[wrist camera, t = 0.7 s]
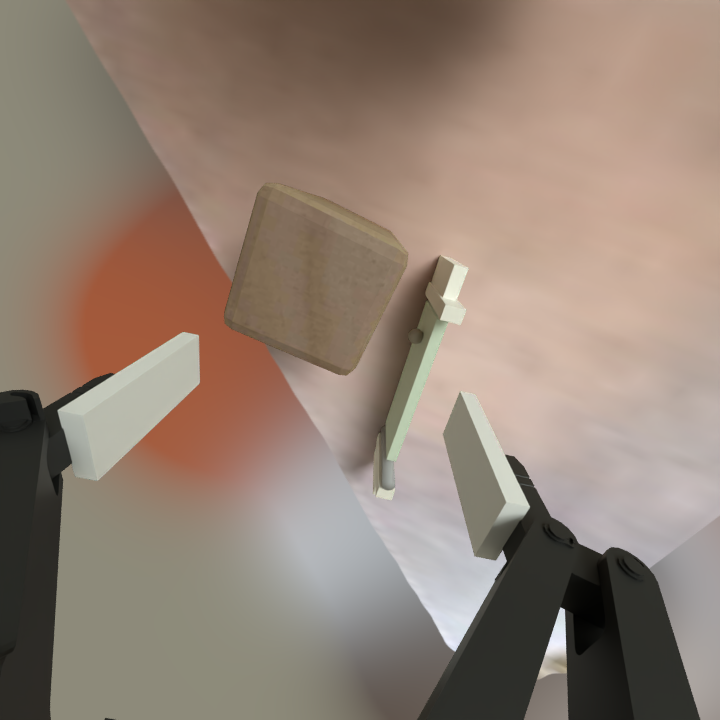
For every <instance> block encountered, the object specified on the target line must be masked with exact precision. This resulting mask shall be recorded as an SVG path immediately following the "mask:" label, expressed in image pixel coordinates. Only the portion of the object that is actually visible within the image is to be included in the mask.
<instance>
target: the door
mask: <svg viewBox="0 0 720 720" xmlns="http://www.w3.org/2000/svg"><path fill="white" fill-rule="evenodd" d="M447 324H448V322H447V321H443V320H440V319H439V317H438V315H437V314H436V312H435V310H434V309H433V307H432V305H431V303H430V302H429V301H427V300H426V303H425V306H424V309H423V312H422V315H421V318H420V321H419V324H418V327H417V329H412V330H411V331H410V332H409V334H408V339H409V341H410V342H411V343H412V345H411V348H410V351H409V354H408V357H407V360H406V363H405V366H404V369H403V372H402V375H401V378H400V381H399V384H398V387H397V390H396V393H395V395H394V398H393V401H392V404H391V407H390V410H389V413H388V416H387V419H386V422H385V423H386V458H387V460H391V461H395V462H396V460H397V457H398V454H399V452H400V449H401V446H402V444H403V441H404V438H405V436H406V433H407V430H408V428H409V425H410V422H411V420H412V417H413V414H414V412H415V409H416V406H417V404H418V401H419V398H420V396H421V393H422V390H423V388H424V385H425V383H426V380H427V377H428V375H429V372H430V369H431V367H432V364H433V361H434V359H435V356H436V353H437V351H438V348H439V345H440V343H441V340H442V337H443V335H444V332H445V329H446V327H447Z"/></svg>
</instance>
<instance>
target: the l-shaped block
mask: <svg viewBox="0 0 720 720" xmlns="http://www.w3.org/2000/svg"><path fill="white" fill-rule="evenodd" d="M468 269H469V268H467V267H466V266H464V265H462V264H461V263H459V262H457V261H455V260H454V259H452V258H449V257H445V256H441V255H440V257H439V260H438V263H437V266H436V269H435V272H434V275H433V278H432V281H431V282H429V283H428V286H427V289H426V292H425V295H426V297H427V298H428V300H429V302H430V303H431V305H432V307H433V309H434V310H435V312H436V314H437V315H438V317H439V319H440V320H443V321H447V322H451V323H455V324H459V325H461V323H462V320H463V318H464V315H465V312H466V309H465V308H464V307H463V305H462V304H461V303H460V302H459V301H458V300H457V298H458V295H459V292H460V290H461V287H462V284H463V282H464V279H465V277H466V274H467V271H468ZM394 492H395V475H394V461H391V460H387V458H386V426H383V427H382V429H381V433H379V434H378V437H377V440H376V449H375V452H374V466H373V494H375V495H376V497H378V498H383V499H387V500H392V497H393V495H394Z"/></svg>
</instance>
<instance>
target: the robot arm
mask: <svg viewBox="0 0 720 720" xmlns="http://www.w3.org/2000/svg"><path fill="white" fill-rule="evenodd" d="M199 369H200V367H199V335H195V334H191V333H186V332H183V333H181V334H179V335H178V336H176V337H174V338H173V339H171V340H169V341H168V342H166V343H165V344H163V345H162V346H160V347H158V348H157V349H155V350H153V351H152V352H150V353H148V354H147V355H145V356H144V357H142V358H141V359H139V360H137V361H136V362H134V363H132V364H131V365H129V366H128V367H126V368H124V369H123V370H122V371H120V372H118V373H116V374H113V373H109V374H106V375H103V376H100V377H97V378H94V379H92V380H91V381H89V382H87V383H86V384H84V385H83V386H82V387H79V388H77V389H76V390H74V391H73V392H72V393H69V394H67V395H65V396H64V397H62V398H60V399H59V400H57V401H55V402H54V403H52V404H50V405H49V406H47V407H46V408H44V409H43V408H42V405H41V401H40V398H39V395H38V394H37V393H35V392H33V391H28V390H11V391H6V392H1V393H0V720H51V717H50V694H51V693H50V692H51V677H52V658H53V643H54V626H55V608H56V591H57V574H58V556H59V540H60V523H61V506H62V489H63V478H62V474H61V472H62V471H63V470H64V469H65V468H67V467H68V466H69V465H70V464H72V468H73V472H74V475H75V477H79V478H85V479H89V480H94V481H98V480H99V479H100V478H101V477H102V476H103V475H104V474H105V473H107V472H108V471H109V470H110V469H111V468H112V467H113V466H114V465H115V464H116V463H117V462H118V461H119V460H120V459H121V458H122V457H123V456H124V455H125V454H126V453H127V452H129V451H130V449H132V448H133V447H134V446H135V445H136V444H137V443H138V442H139V441H140V440H141V439H142V438H143V437H144V436H145V435H146V434H147V433H148V432H149V431H150V430H152V429H153V428H154V427H155V426H156V425H157V424H158V423H159V422H160V421H161V420H162V419H163V418H164V417H165V416H166V415H167V414H168V413H169V412H170V411H171V410H172V409H173V408H174V407H175V406H177V405H178V404H179V403H180V402H181V401H182V400H183V399H184V398H185V397H186V396H187V395H188V394H189V393H190V392H191V391H192V390H193V389H194V388H195V387H196V386H197V385H198V384H199V383H200V370H199ZM443 437H444V440H445V444H446V448H447V452H448V456H449V460H450V463H451V467H452V471H453V475H454V479H455V483H456V487H457V490H458V494H459V498H460V502H461V506H462V510H463V513H464V517H465V521H466V525H467V529H468V533H469V537H470V540H471V544H472V548H473V552H474V556H476V557H481V558H486V559H491V560H497V558H498V556H499V555H500V553H501V552H502V550H503V551H504V554H505V557H506V560H507V562H506V564H505V565H504V567H503V568H502V570H501V571H500V573H499V574H498V576H497V577H496V579H495V582H494V584H493V586H492V588H491V590H490V591H489V593H488V595H487V597H486V598H485V600H484V602H483V604H482V606H481V607H480V609H479V611H478V613H477V614H476V616H475V618H474V620H473V622H472V623H471V625H470V627H469V629H468V630H467V632H466V634H465V636H464V637H463V639H462V641H461V643H460V645H459V646H458V648H457V650H456V652H455V654H454V655H453V657H452V659H451V661H450V662H449V664H448V666H447V668H446V669H445V671H444V673H443V675H442V677H441V678H440V680H439V682H438V684H437V686H436V687H435V689H434V691H433V692H432V694H431V696H430V698H429V700H428V701H427V703H426V705H425V707H424V709H423V710H422V712H421V714H420V716H419V717H418V719H417V720H524V717H525V714H526V711H527V707H528V705H529V702H530V698H531V695H532V692H533V689H534V686H535V683H536V680H537V677H538V674H539V671H540V668H541V665H542V662H543V659H544V655H545V652H546V649H547V646H548V643H549V640H550V637H551V634H552V631H553V628H554V625H555V622H556V619H557V616H558V613H559V609H560V607H561V608H563V609H565V621H566V654H567V686H568V716H569V717H568V718H569V720H700V717H699V714H698V711H697V708H696V704H695V702H694V698H693V695H692V692H691V688H690V685H689V682H688V679H687V675H686V672H685V669H684V666H683V662H682V659H681V656H680V653H679V650H678V646H677V643H676V640H675V636H674V633H673V630H672V627H671V624H670V620H669V617H668V614H667V611H666V607H665V604H664V601H663V598H662V594H661V592H660V588H659V585H658V582H657V580H656V578H655V576H654V574H653V573H652V572H651V571H650V570H649V568H648V567H647V566H646V565H645V564H644V563H643V562H642V561H640V560H639V559H638V558H637V557H635V556H634V555H632V554H631V553H629V552H627V551H625V550H623V549H620V548H614V547H611V548H609V549H608V550H606V552H605V553H604V554H603V555H602V554H600V553H598V552H596V551H593V550H591V549H589V548H587V547H585V546H583V545H581V544H579V543H578V541H577V539H576V537H575V536H574V535H573V533H572V532H571V531H570V530H569V529H568V528H567V527H566V526H565V525H563V524H562V523H561V522H559V521H557V520H556V519H554V518H551V516H550V514H549V512H548V511H547V509H546V507H545V505H544V503H543V501H542V499H541V498H540V496H539V494H538V492H537V490H536V488H534V485H533V483H532V481H531V479H529V475H528V473H527V472H526V470H525V468H524V466H523V465H522V464H521V463H520V462H519V461H518V460H517V459H516V458H515V457H514V456H509V455H504V452H503V450H502V448H501V446H500V444H499V442H498V440H497V438H496V436H495V434H494V432H493V430H492V428H491V426H490V424H489V422H488V420H487V418H486V416H485V413H484V411H483V409H482V407H481V405H480V403H479V401H478V399H477V397H476V395H475V394H471V393H467V392H462V391H460V393H459V396H458V398H457V400H456V403H455V405H454V408H453V410H452V413H451V415H450V418H449V420H448V423H447V425H446V428H445V430H444V433H443ZM105 720H114V719H108V718H105Z"/></svg>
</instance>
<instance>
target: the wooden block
mask: <svg viewBox="0 0 720 720" xmlns="http://www.w3.org/2000/svg"><path fill="white" fill-rule="evenodd" d="M407 259H408V252H407V251H406V250H405V249H404V247H403V246H402V245H401V243H400V242H399V241H398V240H397V238H396V237H395V236H394V235H393V233H392V232H391V231H389V230H387V229H385V228H383V227H381V226H379V225H377V224H375V223H373V222H371V221H369V220H367V219H365V218H363V217H361V216H359V215H357V214H355V213H353V212H351V211H349V210H347V209H345V208H343V207H341V206H339V205H337V204H335V203H333V202H331V201H329V200H327V199H325V198H322V197H319V196H315V195H312V194H309V193H306V192H303V191H300V190H297V189H294V188H291V187H288V186H285V185H282V184H279V183H265V184H264V186H263V187H262V188H261V189H260V191H259V192H258V193H257V197H256V200H255V204H254V208H253V211H252V215H251V218H250V222H249V226H248V229H247V233H246V236H245V240H244V244H243V247H242V251H241V254H240V258H239V261H238V265H237V269H236V272H235V276H234V279H233V283H232V287H231V290H230V294H229V298H228V301H227V305H226V308H225V314H224V319H225V324H226V325H227V326H229V327H230V328H231V329H233V330H235V331H237V332H240V333H242V334H244V335H247V336H249V337H251V338H254V339H256V340H258V341H261V342H263V343H265V344H268V345H270V346H272V347H275V348H277V349H279V350H282V351H284V352H286V353H289V354H291V355H293V356H296V357H298V358H300V359H303V360H305V361H307V362H310V363H312V364H315V365H317V366H319V367H322V368H324V369H326V370H329V371H331V372H333V373H336V374H338V375H346V376H347V375H348V374H349V373H350V372H351V371H353V370H354V369H355V368H356V366H357V364H358V362H359V360H360V358H361V356H362V354H363V352H364V350H365V348H366V346H367V344H368V342H369V340H370V338H371V336H372V334H373V332H374V330H375V328H376V326H377V324H378V322H379V320H380V318H381V316H382V314H383V312H384V310H385V308H386V306H387V304H388V302H389V300H390V298H391V296H392V294H393V292H394V290H395V289H396V287H397V285H398V283H399V281H400V279H401V277H402V275H403V273H404V271H405V269H406V267H407Z"/></svg>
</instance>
